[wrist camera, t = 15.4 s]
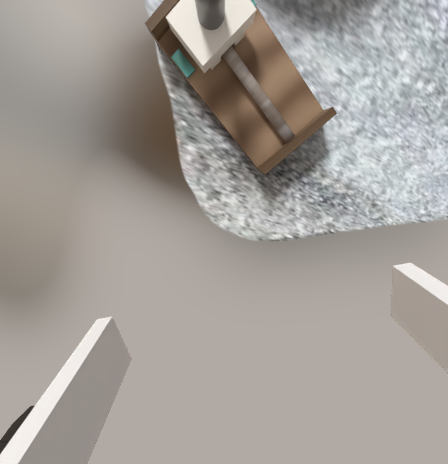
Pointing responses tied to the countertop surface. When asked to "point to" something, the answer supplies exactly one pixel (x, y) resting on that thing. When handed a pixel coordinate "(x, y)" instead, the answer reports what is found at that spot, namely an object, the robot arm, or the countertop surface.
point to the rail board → (240, 98)
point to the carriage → (210, 27)
